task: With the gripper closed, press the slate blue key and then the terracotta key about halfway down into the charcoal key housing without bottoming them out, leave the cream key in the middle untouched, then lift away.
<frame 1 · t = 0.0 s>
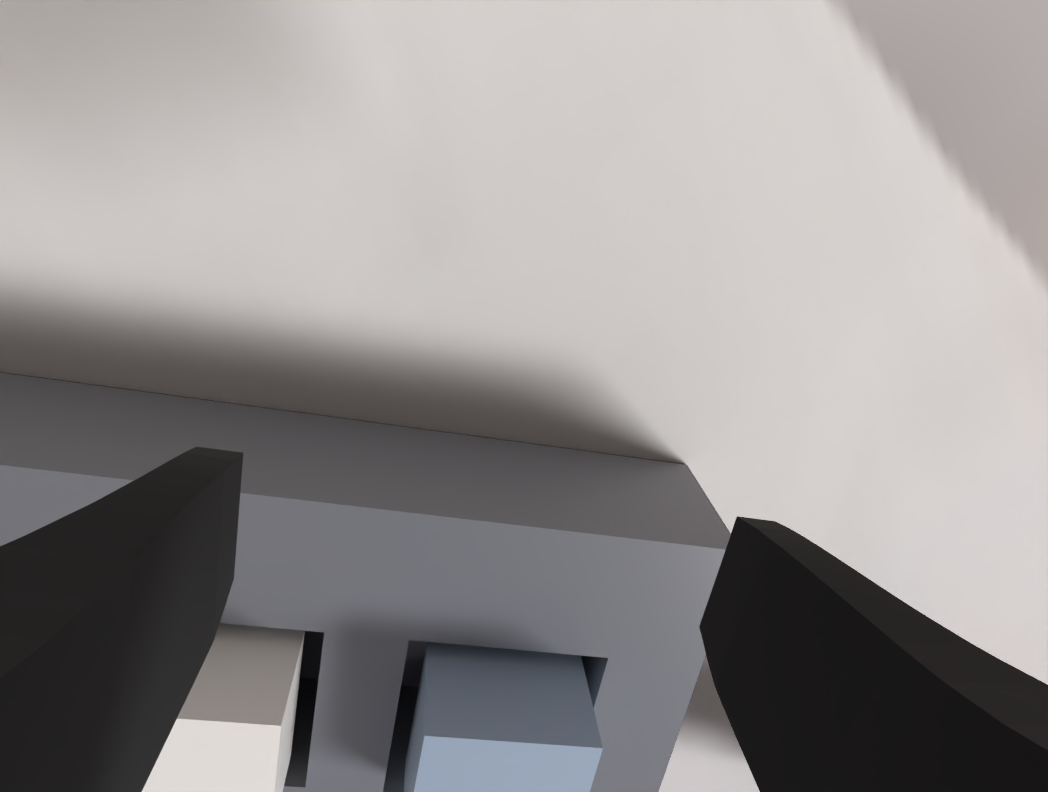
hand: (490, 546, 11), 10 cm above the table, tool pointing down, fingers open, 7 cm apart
blue key: (494, 754, 19), point 5 cm above the table, slide at 0.0 cm
key housing: (251, 591, 23), on the table
white key: (198, 735, 18), point 5 cm above the table, slide at 0.0 cm
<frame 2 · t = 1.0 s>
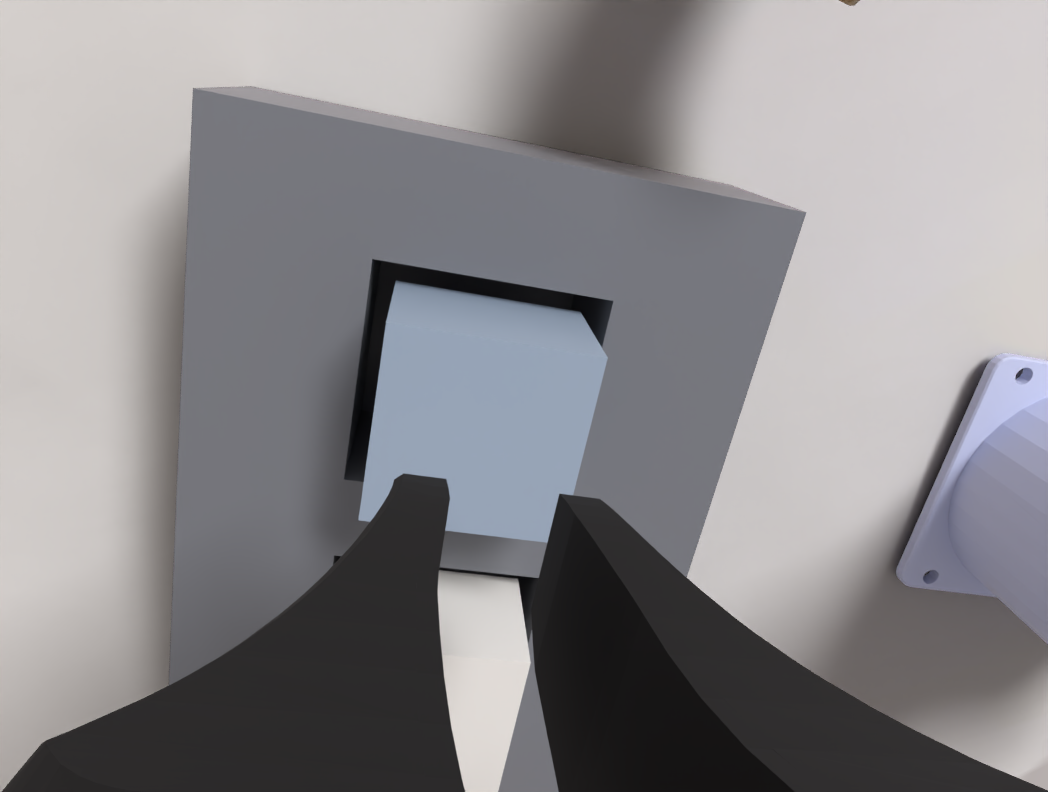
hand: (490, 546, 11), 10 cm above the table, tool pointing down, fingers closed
blue key: (476, 409, 16), point 5 cm above the table, slide at 0.0 cm
key housing: (428, 549, 23), on the table
white key: (424, 677, 18), point 5 cm above the table, slide at 0.0 cm
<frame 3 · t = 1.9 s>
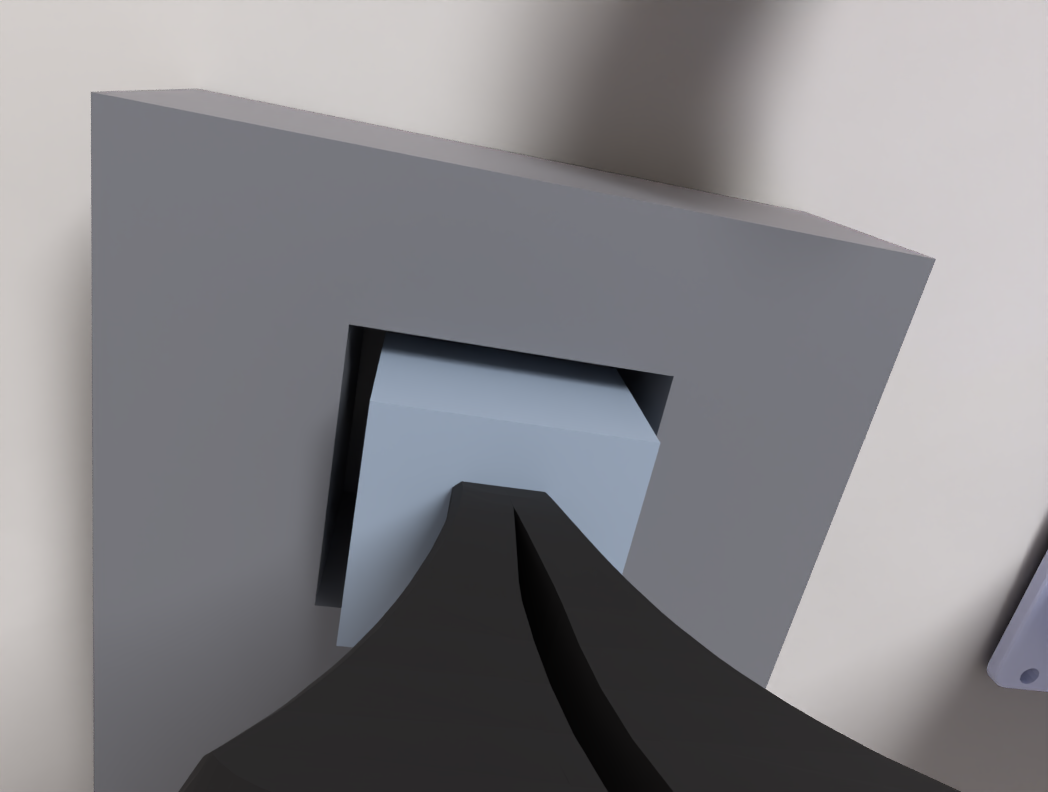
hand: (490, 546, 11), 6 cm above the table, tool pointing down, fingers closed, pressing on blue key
blue key: (487, 496, 12), point 5 cm above the table, slide at 0.9 cm, touching gripper
key housing: (427, 649, 19), on the table
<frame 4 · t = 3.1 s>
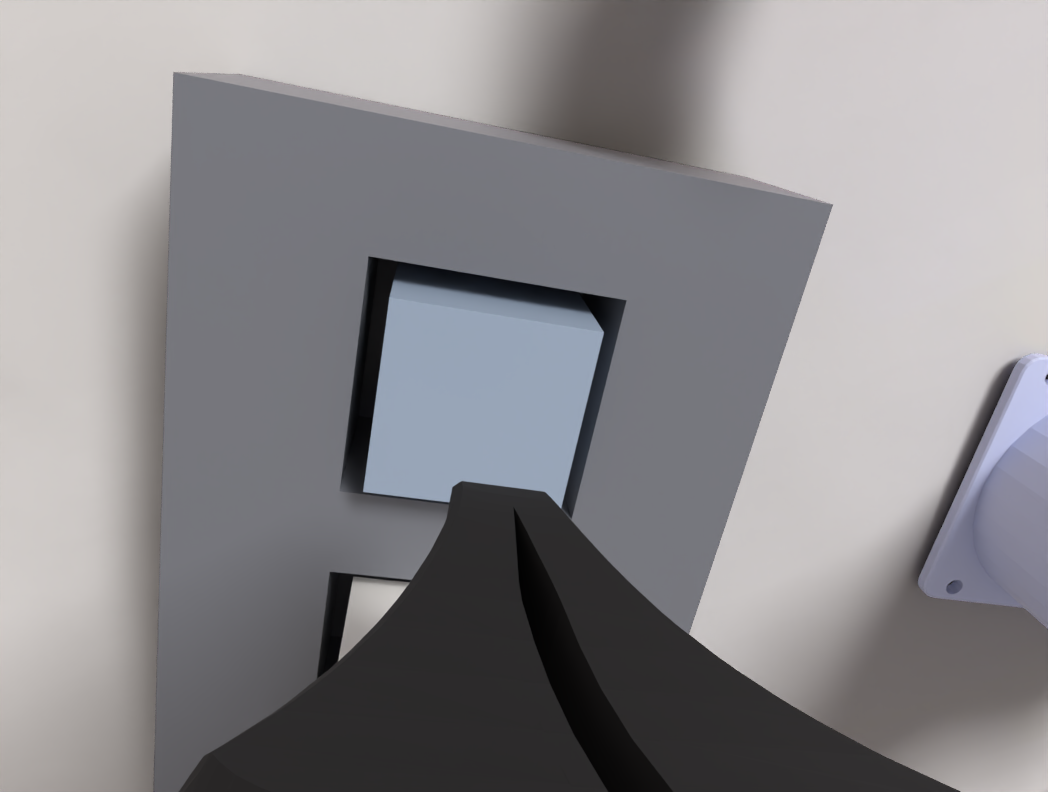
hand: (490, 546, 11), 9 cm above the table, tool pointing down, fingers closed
blue key: (477, 385, 16), point 4 cm above the table, slide at 1.6 cm
key housing: (430, 560, 22), on the table
white key: (426, 700, 17), point 5 cm above the table, slide at 0.0 cm
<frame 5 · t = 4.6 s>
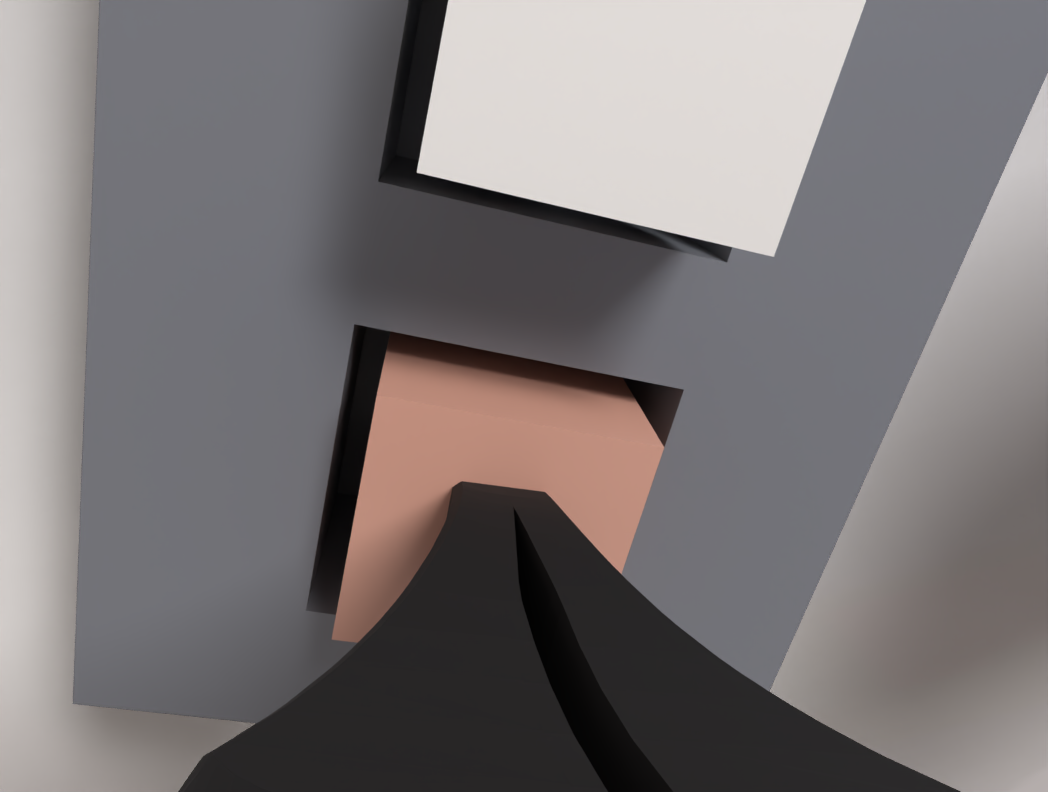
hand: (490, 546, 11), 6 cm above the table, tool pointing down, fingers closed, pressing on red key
key housing: (560, 44, 14), on the table
red key: (487, 494, 12), point 4 cm above the table, slide at 1.2 cm, touching gripper
white key: (625, 23, 9), point 5 cm above the table, slide at 0.0 cm
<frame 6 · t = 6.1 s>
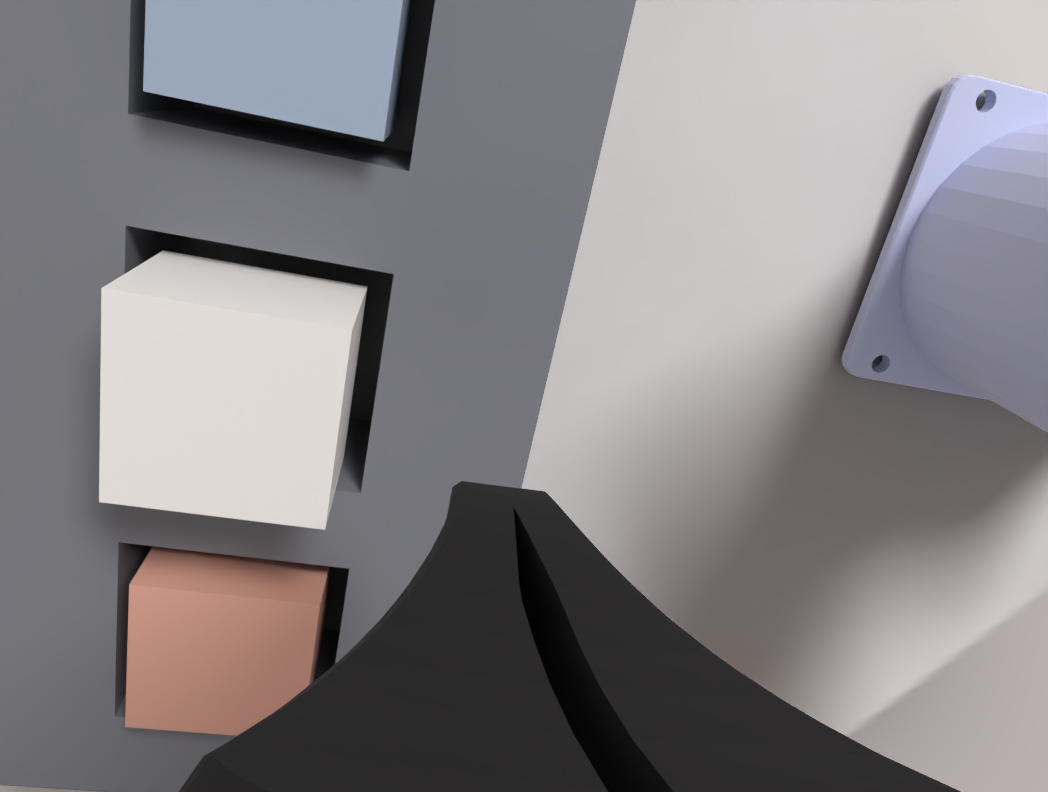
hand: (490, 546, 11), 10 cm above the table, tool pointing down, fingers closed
key housing: (292, 309, 20), on the table
red key: (236, 624, 19), point 4 cm above the table, slide at 1.6 cm
white key: (242, 386, 15), point 5 cm above the table, slide at 0.0 cm
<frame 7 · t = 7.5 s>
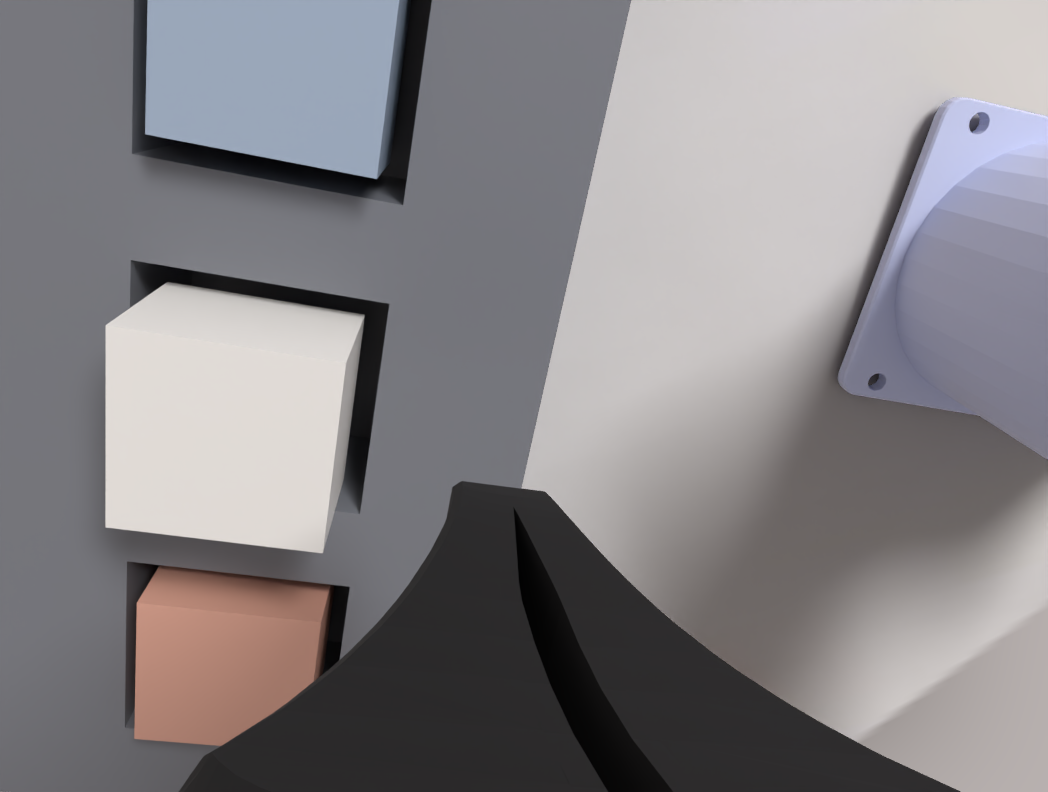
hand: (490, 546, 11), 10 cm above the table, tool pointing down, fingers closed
blue key: (290, 39, 14), point 4 cm above the table, slide at 1.6 cm
key housing: (295, 332, 20), on the table
red key: (241, 638, 19), point 4 cm above the table, slide at 1.6 cm
white key: (243, 414, 15), point 5 cm above the table, slide at 0.0 cm
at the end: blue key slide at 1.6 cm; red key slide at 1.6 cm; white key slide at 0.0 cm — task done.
